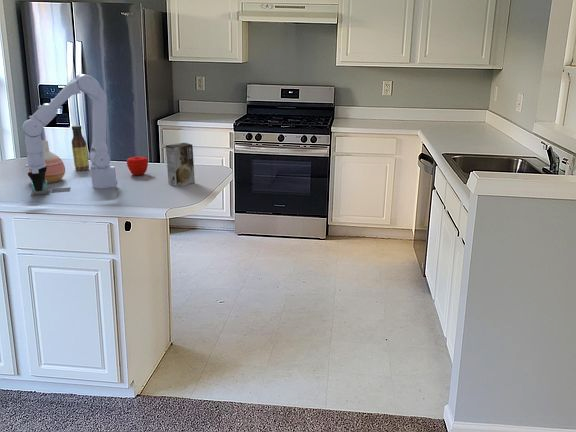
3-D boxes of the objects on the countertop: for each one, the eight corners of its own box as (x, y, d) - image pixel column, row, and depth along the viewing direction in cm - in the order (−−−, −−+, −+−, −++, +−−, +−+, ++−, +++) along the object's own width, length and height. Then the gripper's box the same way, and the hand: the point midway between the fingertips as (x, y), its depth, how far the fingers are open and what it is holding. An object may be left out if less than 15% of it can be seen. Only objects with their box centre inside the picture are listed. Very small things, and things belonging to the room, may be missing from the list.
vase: (73, 181, 236) (68, 139, 231) (52, 188, 223) (46, 144, 218) (45, 179, 239) (40, 137, 234) (23, 186, 227) (17, 142, 222)
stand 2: (71, 190, 220) (70, 187, 220) (70, 194, 214) (69, 191, 214) (53, 191, 219) (52, 188, 218) (51, 195, 213) (51, 192, 212)
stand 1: (51, 193, 216) (50, 190, 215) (49, 197, 210) (49, 194, 209) (32, 194, 214) (32, 191, 213) (30, 199, 208) (30, 195, 207)
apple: (133, 178, 241) (132, 160, 239) (124, 174, 247) (122, 157, 245) (152, 175, 247) (151, 157, 244) (143, 171, 253) (141, 154, 251)
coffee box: (186, 180, 237) (184, 142, 232) (195, 183, 232) (193, 144, 228) (167, 184, 231) (165, 144, 226) (176, 186, 226) (174, 146, 222)
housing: (48, 190, 214) (46, 179, 213) (47, 194, 210) (45, 182, 209) (34, 191, 213) (32, 180, 212) (32, 195, 208) (31, 183, 207)
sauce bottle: (92, 169, 258) (87, 125, 253) (81, 171, 253) (76, 127, 248) (83, 167, 262) (78, 124, 256) (71, 169, 257) (66, 126, 251)
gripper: (26, 149, 212) (30, 184, 216) (20, 156, 199) (25, 193, 203) (46, 148, 214) (50, 183, 218) (42, 155, 201) (47, 192, 205)
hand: (40, 188), depth 211 cm, fingers open, 7 cm apart
